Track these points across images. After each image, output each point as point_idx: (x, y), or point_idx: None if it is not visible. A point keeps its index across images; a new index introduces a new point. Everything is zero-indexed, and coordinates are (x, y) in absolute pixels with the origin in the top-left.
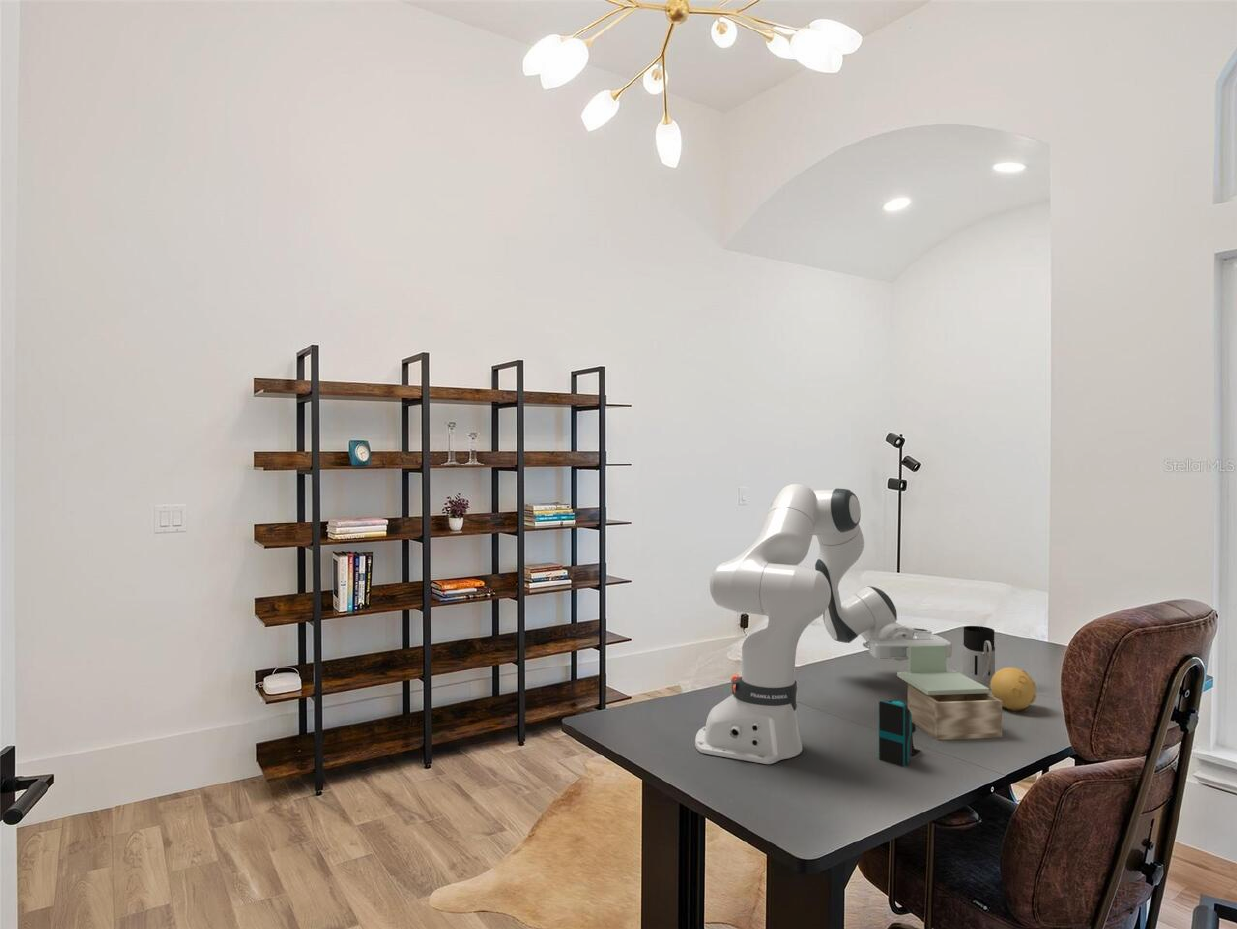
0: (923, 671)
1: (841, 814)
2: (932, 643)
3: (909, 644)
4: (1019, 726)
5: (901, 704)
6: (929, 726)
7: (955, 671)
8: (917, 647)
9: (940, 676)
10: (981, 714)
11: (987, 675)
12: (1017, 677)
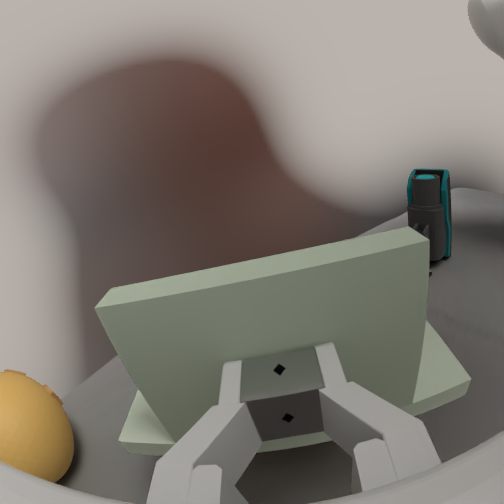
0: None
1: (455, 204)
2: (28, 490)
3: (396, 491)
4: (135, 390)
5: (419, 175)
6: None
7: (131, 423)
8: (357, 245)
9: None
10: None
11: None
12: (16, 374)
